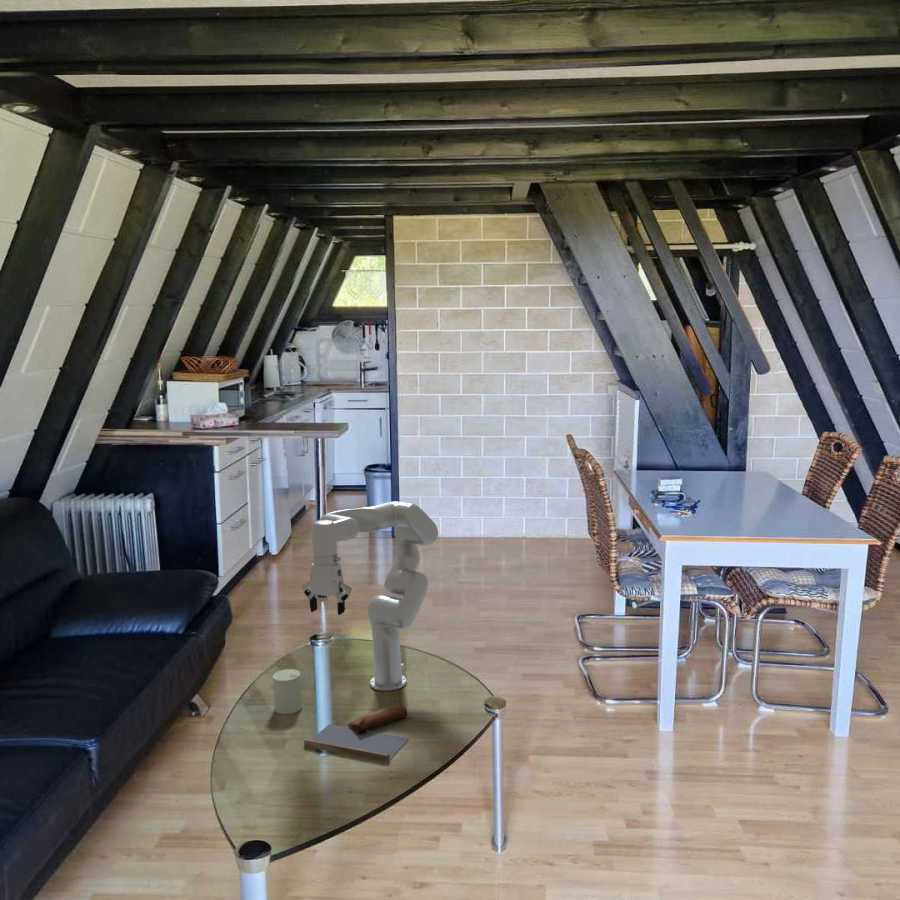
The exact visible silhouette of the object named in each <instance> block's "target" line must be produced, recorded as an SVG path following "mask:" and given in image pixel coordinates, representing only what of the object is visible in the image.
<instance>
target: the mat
mask: <svg viewBox="0 0 900 900" xmlns="http://www.w3.org/2000/svg"><path fill="white" fill-rule="evenodd" d="M312 739H313V740H318V741H324V742H329V743H334V744H340V745H345V746H350V747H356V748H361V749H366V750H372V751H377V752H382V753H388V754H389V756H390V760H392V758H393V757H394V756H395V755H397V753H398V752H399V751H400V750H401V748H403V746H404V745H405V744H407V742H408V741H409V740H410V738H408V737H405V736H404V737H403V736H398V735H393V734H385V733H380V732H376V731H370V730H368V731H365V732H363V733H360V734H359V735H357V734H356V733H355V732H354V731H352V730H351V729H350V728H349V727H348V726H341V725H337V724H336V725H334V724H331V723H330V724H328V725H326V726H325V727H324V728H323V729H322V730H320V732H318V733H317V734H316V735H315V736H313V737H312Z"/></svg>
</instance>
